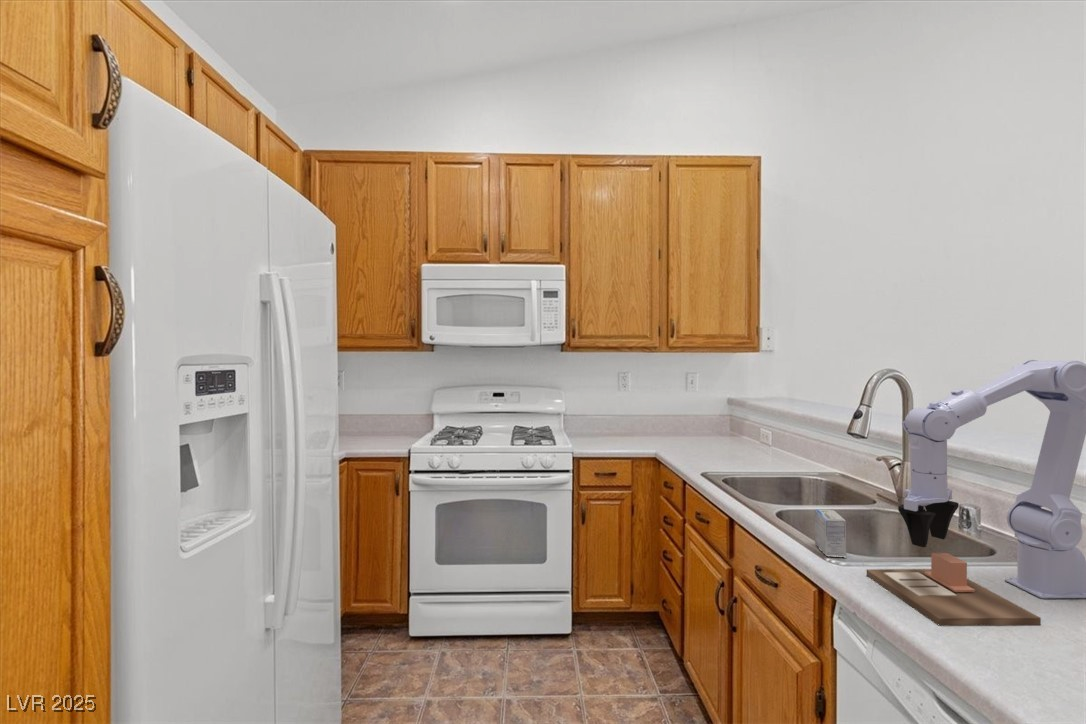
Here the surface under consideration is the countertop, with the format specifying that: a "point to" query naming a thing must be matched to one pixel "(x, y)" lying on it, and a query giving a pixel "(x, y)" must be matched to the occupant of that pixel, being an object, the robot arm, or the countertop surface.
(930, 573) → the salmon block with base
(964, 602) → the ticket board
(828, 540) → the medicine box
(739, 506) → the countertop surface
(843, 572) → the countertop surface
